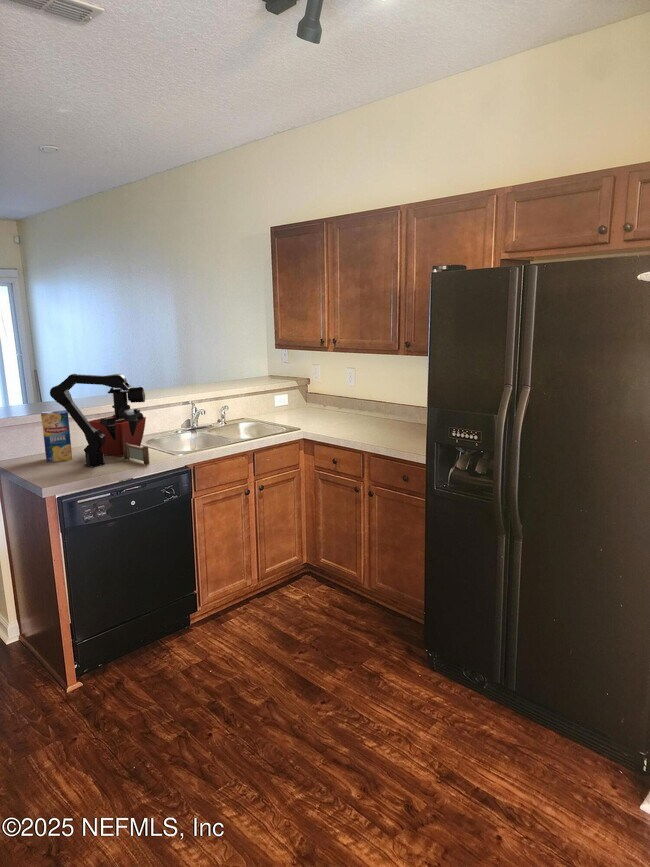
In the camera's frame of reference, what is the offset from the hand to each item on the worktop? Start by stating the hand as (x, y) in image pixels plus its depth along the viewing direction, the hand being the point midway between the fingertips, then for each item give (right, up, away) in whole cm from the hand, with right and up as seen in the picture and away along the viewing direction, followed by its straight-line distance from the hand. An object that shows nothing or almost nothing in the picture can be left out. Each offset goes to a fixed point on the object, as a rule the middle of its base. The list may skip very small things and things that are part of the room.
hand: (123, 437), depth 252 cm
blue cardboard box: (-34, -10, +11) cm, 37 cm away
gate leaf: (+4, -10, +6) cm, 12 cm away
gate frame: (+4, -11, +6) cm, 13 cm away
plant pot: (-10, -8, +23) cm, 26 cm away
